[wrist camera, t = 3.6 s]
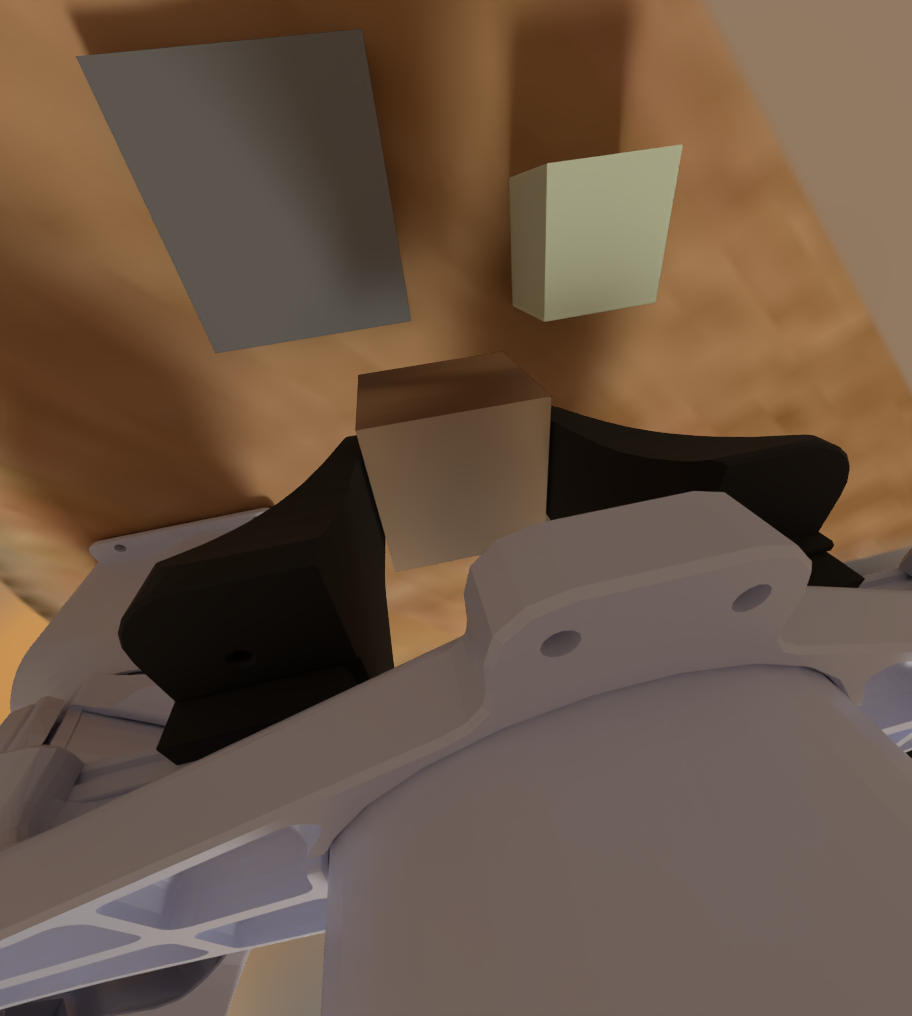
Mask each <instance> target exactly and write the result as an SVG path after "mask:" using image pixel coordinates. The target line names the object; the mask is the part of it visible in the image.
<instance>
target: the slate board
mask: <svg viewBox="0 0 912 1016" xmlns="http://www.w3.org/2000/svg"><path fill="white" fill-rule="evenodd" d="M76 58H77V60H78V62H79V64H80V66H81V68H82V70H83V73H84V75H85V77H86V79H87V81H88V83H89V85H90V87H91V89H92V92H93V94H94V96H95V98H96V100H97V102H98V104H99V106H100V109H101V111H102V113H103V115H104V117H105V119H106V121H107V123H108V126H109V128H110V130H111V132H112V134H113V136H114V138H115V140H116V143H117V145H118V147H119V149H120V151H121V153H122V155H123V157H124V160H125V162H126V164H127V166H128V168H129V170H130V172H131V174H132V177H133V179H134V181H135V183H136V185H137V187H138V189H139V191H140V194H141V196H142V198H143V200H144V202H145V204H146V206H147V208H148V210H149V213H150V215H151V217H152V219H153V221H154V223H155V225H156V227H157V230H158V232H159V234H160V236H161V238H162V240H163V242H164V244H165V247H166V249H167V251H168V253H169V255H170V257H171V259H172V261H173V264H174V266H175V268H176V270H177V272H178V274H179V276H180V278H181V281H182V283H183V285H184V287H185V289H186V291H187V293H188V295H189V298H190V300H191V302H192V304H193V306H194V308H195V310H196V312H197V315H198V317H199V319H200V321H201V323H202V325H203V327H204V329H205V332H206V334H207V336H208V338H209V340H210V342H211V344H212V346H213V348H214V351H215V353H221V352H227V351H233V350H239V349H245V348H251V347H257V346H263V345H269V344H275V343H281V342H287V341H294V340H300V339H306V338H312V337H318V336H324V335H330V334H336V333H342V332H348V331H354V330H360V329H366V328H372V327H379V326H385V325H391V324H397V323H403V322H409V321H411V316H410V310H409V305H408V299H407V293H406V287H405V281H404V275H403V269H402V263H401V257H400V251H399V245H398V239H397V233H396V227H395V221H394V215H393V210H392V204H391V198H390V192H389V186H388V180H387V174H386V168H385V162H384V156H383V150H382V144H381V138H380V132H379V126H378V120H377V115H376V109H375V103H374V97H373V91H372V85H371V79H370V73H369V67H368V61H367V55H366V49H365V43H364V37H363V31H362V29H355V30H345V31H334V32H324V33H314V34H303V35H293V36H283V37H272V38H262V39H251V40H241V41H231V42H220V43H210V44H200V45H189V46H179V47H169V48H158V49H148V50H138V51H127V52H117V53H106V54H96V55H86V56H76Z"/></svg>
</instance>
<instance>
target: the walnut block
mask: <svg viewBox="0 0 912 1016" xmlns="http://www.w3.org/2000/svg"><path fill="white" fill-rule="evenodd" d="M551 397H552V396H551V395H549V394H548V393H547V392H546V391H545V390H544V389H543V388H542V387H541V386H540V385H539V384H537V383H536V382H535V381H534V380H533V379H532V378H531V377H530V376H529V375H528V374H526V373H525V372H524V371H523V370H522V369H521V368H520V367H519V366H518V365H517V364H516V363H514V362H513V361H512V360H511V359H510V358H509V357H508V356H507V355H506V354H505V353H503V352H497V353H491V354H485V355H478V356H472V357H466V358H460V359H454V360H448V361H441V362H435V363H429V364H423V365H417V366H410V367H404V368H398V369H392V370H386V371H380V372H373V373H367V374H361V375H358V391H357V410H356V429H355V431H356V434H357V438H358V441H359V445H360V448H361V452H362V455H363V459H364V463H365V466H366V470H367V473H368V477H369V480H370V484H371V487H372V491H373V494H374V498H375V501H376V505H377V508H378V512H379V515H380V519H381V522H382V526H383V530H384V533H385V537H386V540H387V544H388V547H389V551H390V554H391V558H392V561H393V565H394V568H395V572H400V571H405V570H410V569H414V568H419V567H424V566H429V565H434V564H438V563H443V562H448V561H453V560H457V559H462V558H467V557H472V556H477V555H481V554H483V553H484V552H485V551H486V550H487V549H488V548H489V547H490V546H491V545H492V544H493V543H494V542H495V541H496V540H497V539H499V538H502V537H504V536H507V535H509V534H511V533H514V532H516V531H518V530H521V529H523V528H526V527H528V526H530V525H533V524H536V523H541V522H545V518H546V498H547V477H548V457H549V437H550V417H551Z"/></svg>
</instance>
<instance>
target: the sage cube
mask: <svg viewBox="0 0 912 1016" xmlns="http://www.w3.org/2000/svg"><path fill="white" fill-rule="evenodd" d="M682 146H683V144H682V145H675V146H668V147H661V148H654V149H647V150H639V151H632V152H625V153H618V154H611V155H603V156H596V157H589V158H582V159H575V160H567V161H560V162H553V163H547V164H544V165H541V166H539V167H536V168H533V169H531V170H528V171H525V172H523V173H520V174H517V175H515V176H512V177H509V192H510V230H511V268H512V306H513V307H515V308H517V309H519V310H521V311H523V312H525V313H527V314H529V315H531V316H533V317H535V318H537V319H539V320H541V321H543V322H547V321H553V320H558V319H564V318H570V317H575V316H581V315H587V314H593V313H598V312H604V311H610V310H615V309H621V308H627V307H633V306H638V305H644V304H650V303H655V302H656V297H657V291H658V285H659V279H660V274H661V268H662V262H663V256H664V250H665V245H666V239H667V233H668V227H669V221H670V216H671V210H672V204H673V198H674V192H675V187H676V181H677V175H678V169H679V163H680V158H681V152H682Z"/></svg>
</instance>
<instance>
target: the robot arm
mask: <svg viewBox="0 0 912 1016" xmlns="http://www.w3.org/2000/svg"><path fill="white" fill-rule="evenodd" d="M848 474H849V461H848V457H847V454H846V453H845V452H844V451H843V450H842V449H841V448H840V447H839V446H836V445H834V444H832V443H830V442H828V441H825V440H823V439H821V438H819V437H817V436H813V435H786V436H764V437H710V436H692V435H681V434H669V433H661V432H654V431H648V430H642V429H636V428H631V427H626V426H621V425H617V424H613V423H609V422H605V421H601V420H598V419H594V418H591V417H587V416H584V415H581V414H577V413H574V412H571V411H568V410H565V409H561V408H558V407H554V406H551V417H550V437H549V457H548V477H547V498H546V514H547V516H548V517H549V519H550V520H551V521H546V522H541V523H536V524H533V525H530V526H528V527H526V528H523V529H521V530H518V531H516V532H514V533H511V534H509V535H507V536H504V537H502V538H499V539H497V540H496V541H495V542H494V543H493V544H492V545H491V546H490V547H489V548H488V549H487V550H486V551H485V552H484V553H483V554H482V555H481V556H480V557H479V558H478V559H477V560H476V561H475V562H474V563H473V564H472V565H471V566H470V570H469V574H468V578H467V582H466V586H465V591H464V599H465V607H466V614H467V628H466V632H465V634H464V635H463V636H461V637H459V638H457V639H455V640H453V641H451V642H448V643H446V644H444V645H442V646H440V647H438V648H436V649H434V650H431V651H429V652H427V653H425V654H423V655H421V656H419V657H416V658H414V659H412V660H410V661H408V662H406V663H404V664H402V665H399V666H397V667H395V668H394V662H393V654H392V645H391V636H390V628H389V619H388V609H387V599H386V589H385V533H384V530H383V526H382V522H381V519H380V515H379V512H378V508H377V505H376V501H375V498H374V494H373V491H372V487H371V484H370V480H369V477H368V473H367V470H366V466H365V463H364V459H363V455H362V452H361V448H360V445H359V441H358V438H357V435H355V436H350V437H346V438H345V439H344V440H343V441H342V442H341V443H340V444H339V446H338V447H337V448H336V449H335V450H334V452H333V453H332V454H331V455H330V456H329V457H328V458H327V460H326V461H325V462H324V463H323V464H322V465H321V466H320V467H319V468H318V469H317V470H316V471H315V472H314V473H313V474H312V475H311V476H310V477H309V478H308V479H307V480H306V481H305V482H304V483H303V484H302V485H301V486H299V487H298V488H297V489H296V490H295V491H293V492H292V493H291V494H290V495H288V496H287V497H286V498H284V499H283V500H282V501H280V502H279V503H277V504H276V505H274V506H273V507H271V508H260V509H255V510H250V511H245V512H240V513H235V514H230V515H225V516H220V517H215V518H210V519H205V520H200V521H195V522H190V523H185V524H180V525H175V526H170V527H165V528H160V529H155V530H150V531H145V532H140V533H135V534H130V535H125V536H120V537H115V538H110V539H105V540H100V541H96V542H94V543H93V544H92V545H91V546H90V547H89V552H90V554H91V555H92V556H93V557H94V558H95V559H96V560H97V561H98V563H97V565H96V566H95V567H94V568H93V570H92V571H91V572H90V573H89V575H88V576H87V577H86V578H85V580H84V581H83V582H82V583H81V585H80V586H79V587H78V588H77V590H76V591H75V592H74V593H73V595H72V596H71V597H70V598H69V600H68V601H67V602H66V603H65V605H64V606H63V607H62V608H61V610H60V611H59V612H58V613H57V615H56V616H55V617H54V618H53V620H52V621H51V622H50V623H49V625H48V626H47V627H46V628H45V630H44V631H43V632H42V633H41V635H40V636H39V637H38V638H37V640H36V641H35V642H34V643H33V645H32V646H31V647H30V649H29V650H28V652H27V653H26V654H25V656H24V658H23V659H22V661H21V663H20V665H19V667H18V669H17V672H16V675H15V678H14V681H13V686H12V691H11V700H10V708H11V713H10V714H9V715H8V717H7V718H6V719H5V720H4V722H3V723H2V724H1V725H0V1016H227V1015H228V1011H229V1008H230V1005H231V1002H232V998H233V995H234V992H235V990H236V988H237V985H238V982H239V979H240V976H241V973H242V971H243V968H244V965H245V963H246V960H247V958H248V955H249V952H250V950H251V949H252V948H257V947H261V946H266V945H270V944H275V943H279V942H284V941H288V940H293V939H297V938H302V937H306V936H311V935H315V934H320V933H324V932H325V945H324V964H323V982H322V1000H321V1016H912V759H911V758H910V757H909V756H908V755H907V754H906V753H905V752H907V751H910V750H912V549H910V550H909V552H908V553H907V554H906V555H905V556H904V558H903V559H902V561H901V562H900V564H899V568H895V569H891V570H886V571H882V572H878V573H874V574H870V575H866V576H861V575H859V574H858V573H856V572H855V571H853V570H852V569H850V568H849V567H848V566H846V565H845V564H843V563H842V562H841V561H839V560H838V559H836V558H835V557H833V556H832V555H830V554H829V553H828V552H826V551H830V550H831V549H832V548H833V546H834V544H833V541H832V540H830V539H829V538H827V537H826V536H824V535H823V534H821V533H820V532H818V531H819V530H820V528H821V527H822V525H823V523H824V522H825V520H826V518H827V517H828V515H829V513H830V512H831V510H832V509H833V507H834V505H835V504H836V502H837V500H838V499H839V497H840V495H841V493H842V491H843V489H844V487H845V485H846V483H847V479H848ZM253 517H255V518H253ZM120 545H123V546H124V547H122V546H120Z"/></svg>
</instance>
